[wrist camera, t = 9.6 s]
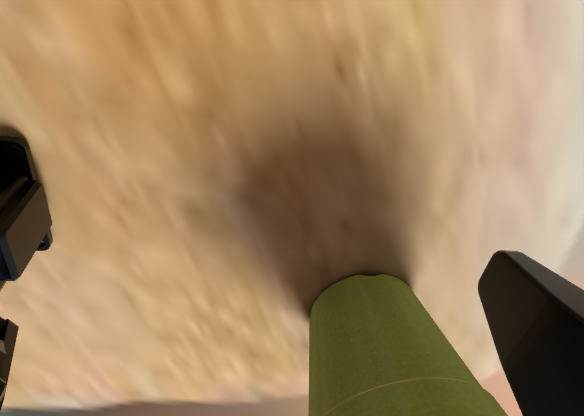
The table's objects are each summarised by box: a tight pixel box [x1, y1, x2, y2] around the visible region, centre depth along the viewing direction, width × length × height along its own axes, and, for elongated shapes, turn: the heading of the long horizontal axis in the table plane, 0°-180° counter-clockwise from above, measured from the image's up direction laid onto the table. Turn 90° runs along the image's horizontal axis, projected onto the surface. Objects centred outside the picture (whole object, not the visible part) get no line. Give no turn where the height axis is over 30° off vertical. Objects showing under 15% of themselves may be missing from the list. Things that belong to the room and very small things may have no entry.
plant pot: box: [309, 274, 508, 416], centre depth 24 cm, size 12×12×11 cm
